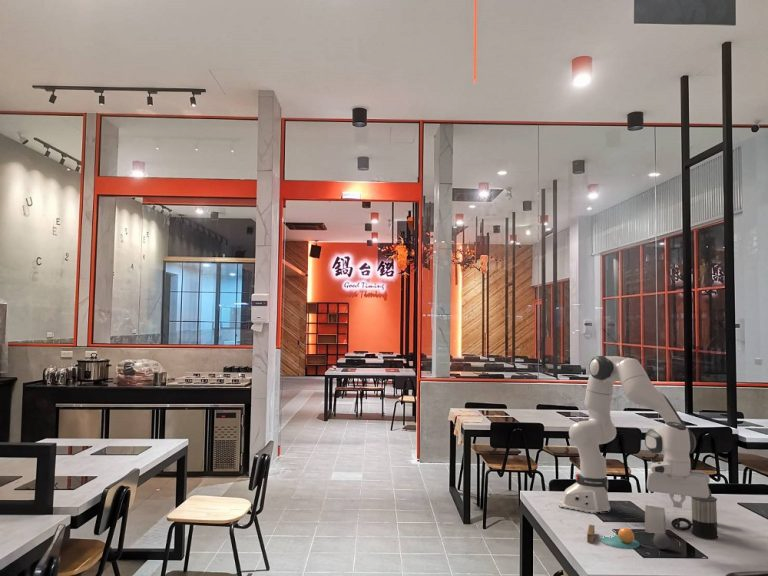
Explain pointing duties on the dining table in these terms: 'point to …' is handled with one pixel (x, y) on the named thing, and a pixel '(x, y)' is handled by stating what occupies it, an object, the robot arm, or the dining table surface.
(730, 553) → the dining table surface
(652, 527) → the white carton box
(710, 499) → the milk frother
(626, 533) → the orange ball
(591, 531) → the wall
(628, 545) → the teal ellipsoid
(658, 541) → the gray ball
